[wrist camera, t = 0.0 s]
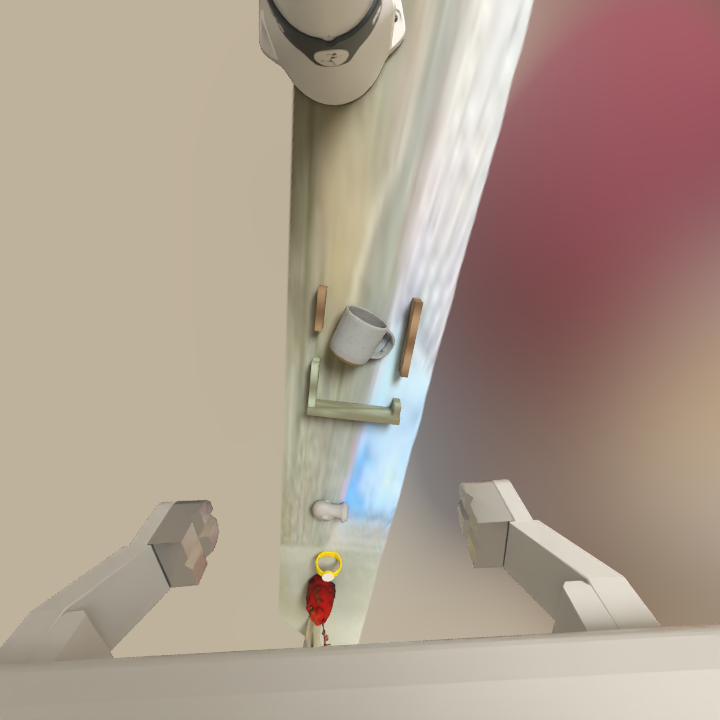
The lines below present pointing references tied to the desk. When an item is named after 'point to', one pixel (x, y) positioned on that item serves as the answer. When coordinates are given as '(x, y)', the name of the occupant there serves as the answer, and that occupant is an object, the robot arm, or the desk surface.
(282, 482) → the desk surface
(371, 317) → the ceramic mug
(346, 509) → the smooth white sculpture
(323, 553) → the watch
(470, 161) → the desk surface
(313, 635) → the white tooth model
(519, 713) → the robot arm
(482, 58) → the desk surface
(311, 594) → the red clay folk toy
